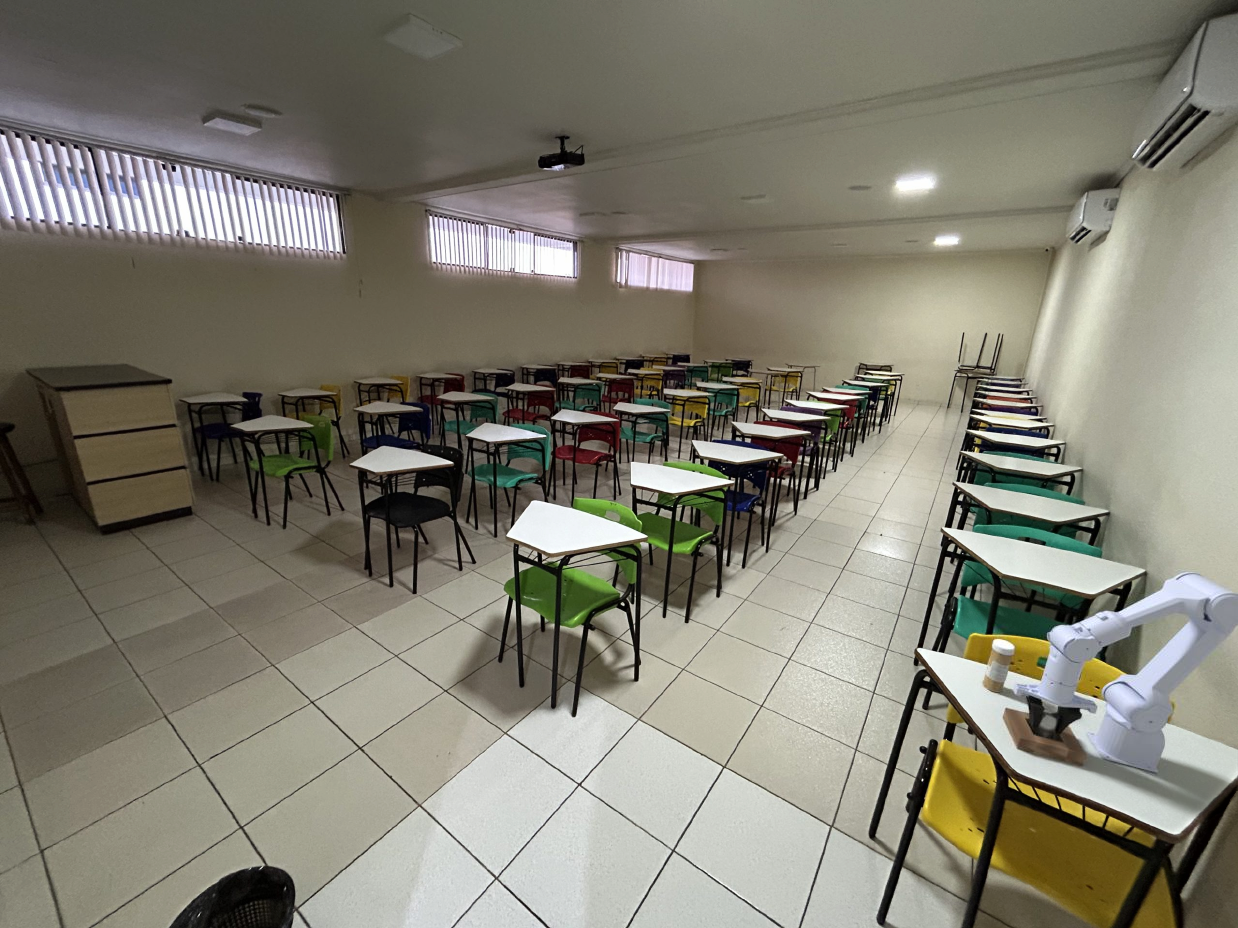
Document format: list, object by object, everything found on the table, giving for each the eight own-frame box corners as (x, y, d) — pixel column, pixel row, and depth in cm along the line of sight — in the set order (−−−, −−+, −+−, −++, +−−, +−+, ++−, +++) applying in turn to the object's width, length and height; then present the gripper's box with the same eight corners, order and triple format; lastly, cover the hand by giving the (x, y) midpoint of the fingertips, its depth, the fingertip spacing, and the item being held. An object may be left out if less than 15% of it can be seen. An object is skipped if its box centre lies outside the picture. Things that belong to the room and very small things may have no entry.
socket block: (1063, 732, 118) (1066, 722, 117) (1083, 765, 109) (1086, 754, 108) (1002, 717, 122) (1005, 707, 121) (1016, 748, 113) (1020, 737, 112)
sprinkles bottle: (985, 678, 136) (996, 636, 132) (1005, 688, 132) (1017, 644, 128) (979, 686, 133) (991, 642, 129) (1000, 695, 129) (1012, 651, 126)
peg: (1049, 730, 116) (1055, 708, 115) (1056, 742, 113) (1063, 720, 111) (1028, 725, 118) (1034, 703, 116) (1034, 737, 114) (1041, 715, 113)
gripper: (1092, 675, 112) (1075, 724, 116) (1014, 658, 117) (1001, 706, 121) (1108, 696, 105) (1090, 747, 109) (1025, 677, 111) (1011, 727, 114)
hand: (1044, 727), depth 114 cm, fingers closed on peg, 4 cm apart
